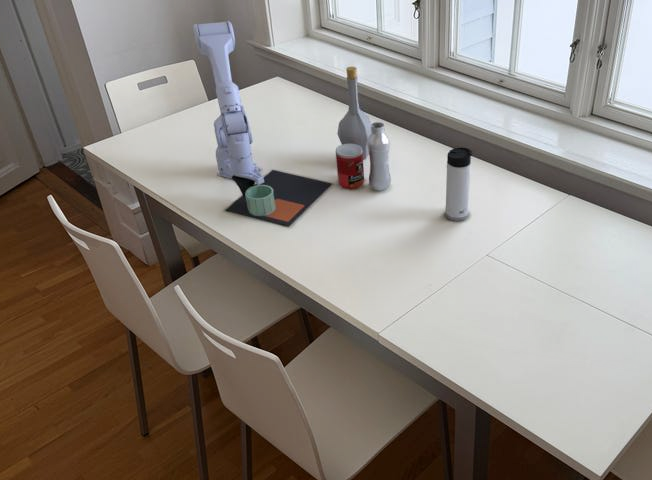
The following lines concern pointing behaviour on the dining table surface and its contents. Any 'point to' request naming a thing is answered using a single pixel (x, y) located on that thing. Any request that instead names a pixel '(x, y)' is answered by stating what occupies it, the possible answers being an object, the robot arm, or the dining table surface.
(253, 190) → the cup
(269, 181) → the mat
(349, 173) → the canned food
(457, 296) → the dining table surface
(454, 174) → the travel mug
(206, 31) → the robot arm
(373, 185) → the silver smooth rounded piece
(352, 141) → the bottle
